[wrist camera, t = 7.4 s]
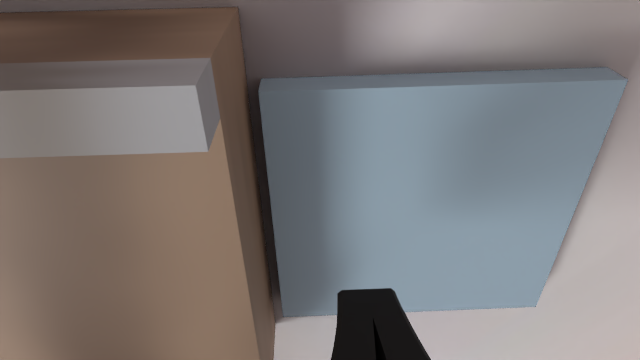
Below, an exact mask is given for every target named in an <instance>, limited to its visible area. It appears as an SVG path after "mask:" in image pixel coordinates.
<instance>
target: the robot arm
mask: <svg viewBox="0 0 640 360" xmlns="http://www.w3.org/2000/svg"><path fill="white" fill-rule="evenodd" d="M331 360H431V359H430V357H429V356H428V354H427V352H426V351H425V349H424V347H423V346H422V344H421V342H420V340H419V339H418V337H417V335H416V333H415V331H414V330H413V328H412V326H411V324H410V322H409V320H408V318H407V316H406V314H405V312H404V310H403V308H402V306H401V304H400V302H399V300H398V298H397V295H396V293H395V291H394V290H393V289H391V288H382V289H355V290H341V291H340V292H339V293H337V328H336V335H335V342H334V347H333V352H332V357H331Z"/></svg>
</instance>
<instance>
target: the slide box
mask: <svg viewBox="0 0 640 360" xmlns="http://www.w3.org/2000/svg"><path fill="white" fill-rule="evenodd" d="M274 340H275V317H274V308H273V300H272V291H271V283H270V274H269V266H268V258H267V249H266V241H265V232H264V224H263V215H262V207H261V198H260V190H259V181H258V173H257V165H256V156H255V148H254V139H253V131H252V122H251V114H250V105H249V97H248V88H247V80H246V71H245V63H244V55H243V46H242V38H241V29H240V21H239V12H238V7H220V8H178V9H137V10H96V11H54V12H13V13H0V360H273V357H274Z"/></svg>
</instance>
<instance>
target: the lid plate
mask: <svg viewBox="0 0 640 360" xmlns="http://www.w3.org/2000/svg"><path fill="white" fill-rule="evenodd" d="M627 82H628V79H626V78H625V77H623V76H621V75H619V74H618V73H616V72H614V71H613V70H611V69H609V68H608V67H594V68H564V69H535V70H505V71H475V72H445V73H416V74H386V75H356V76H327V77H297V78H267V79H261V82H260V86H259V91H258V94H259V103H260V112H261V121H262V130H263V139H264V148H265V157H266V166H267V175H268V185H269V194H270V203H271V212H272V221H273V230H274V239H275V248H276V257H277V266H278V275H279V284H280V293H281V302H282V311H283V317H298V316H322V315H337V293H339V292H340V291H341V290H355V289H382V288H391V289H393V290H394V291H395V293H396V295H397V298H398V300H399V302H400V304H401V306H402V308H403V310H404V312H420V311H444V310H469V309H493V308H518V307H536V305H537V302H538V300H539V297H540V295H541V293H542V290H543V288H544V285H545V283H546V280H547V278H548V275H549V273H550V270H551V268H552V266H553V263H554V261H555V258H556V256H557V253H558V251H559V248H560V246H561V243H562V241H563V239H564V236H565V234H566V231H567V229H568V226H569V224H570V221H571V219H572V216H573V214H574V212H575V209H576V207H577V204H578V202H579V199H580V197H581V194H582V192H583V189H584V187H585V185H586V182H587V180H588V177H589V175H590V172H591V170H592V167H593V165H594V162H595V160H596V158H597V155H598V153H599V150H600V148H601V145H602V143H603V140H604V138H605V135H606V133H607V131H608V128H609V126H610V123H611V121H612V118H613V116H614V113H615V111H616V108H617V106H618V104H619V101H620V99H621V96H622V94H623V91H624V89H625V86H626V84H627Z"/></svg>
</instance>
